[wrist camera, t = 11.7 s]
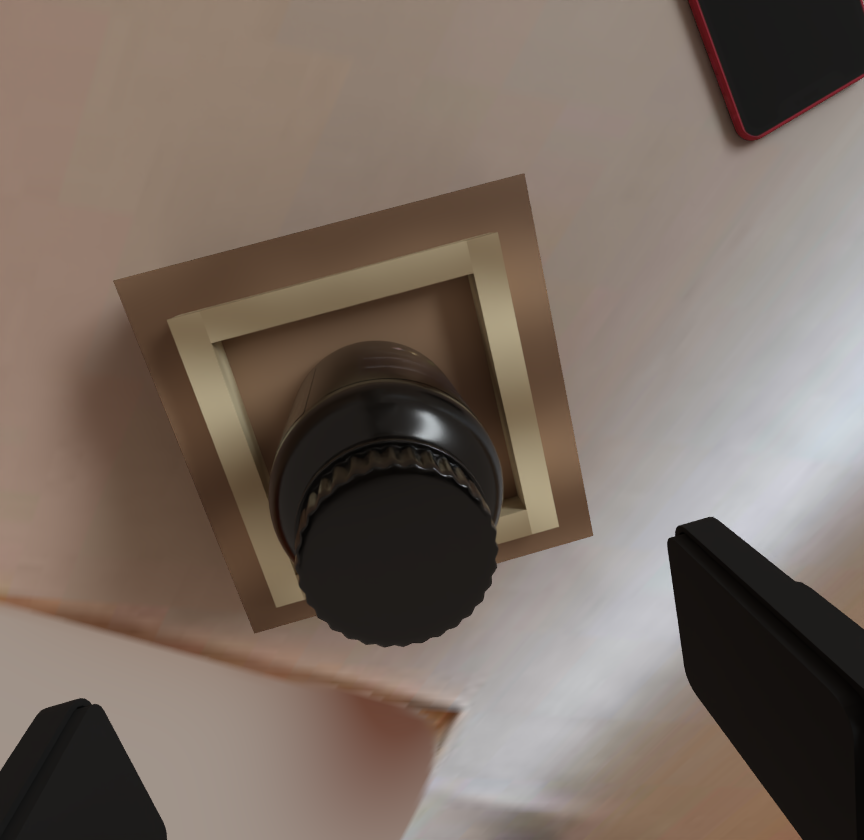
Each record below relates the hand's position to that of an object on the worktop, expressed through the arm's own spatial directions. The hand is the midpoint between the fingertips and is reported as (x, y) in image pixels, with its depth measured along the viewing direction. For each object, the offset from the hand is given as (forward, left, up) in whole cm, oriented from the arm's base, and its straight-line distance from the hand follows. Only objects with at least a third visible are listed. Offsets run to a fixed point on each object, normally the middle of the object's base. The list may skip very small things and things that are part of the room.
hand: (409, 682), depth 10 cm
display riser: (0, 0, -22) cm, 22 cm away
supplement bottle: (0, 0, -17) cm, 17 cm away
